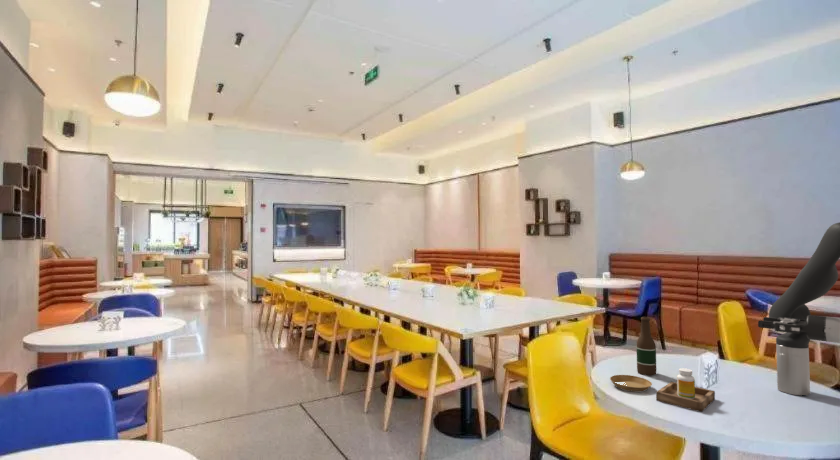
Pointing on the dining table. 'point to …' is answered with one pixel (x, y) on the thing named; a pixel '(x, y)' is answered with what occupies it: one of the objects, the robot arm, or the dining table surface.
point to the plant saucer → (631, 383)
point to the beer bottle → (646, 350)
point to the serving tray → (699, 403)
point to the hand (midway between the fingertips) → (761, 321)
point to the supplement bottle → (685, 384)
